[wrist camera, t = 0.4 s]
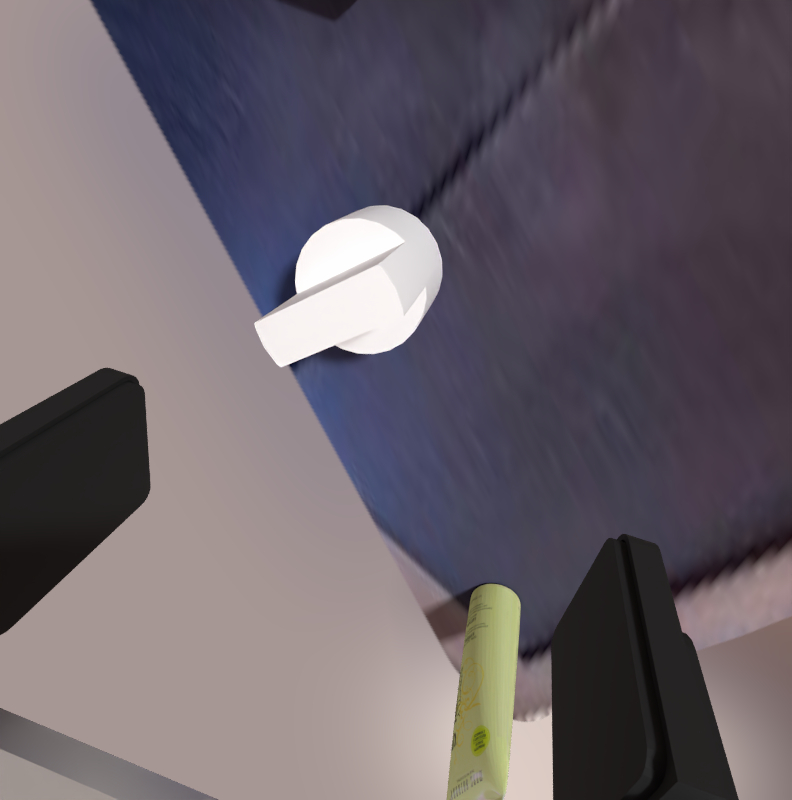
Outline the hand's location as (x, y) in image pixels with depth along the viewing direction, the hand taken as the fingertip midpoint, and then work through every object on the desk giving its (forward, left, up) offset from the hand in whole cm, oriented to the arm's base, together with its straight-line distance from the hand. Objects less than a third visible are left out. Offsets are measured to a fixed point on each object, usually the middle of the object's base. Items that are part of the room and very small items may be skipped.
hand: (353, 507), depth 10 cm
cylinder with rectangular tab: (+5, -6, -30) cm, 31 cm away
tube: (+32, +15, -30) cm, 46 cm away
